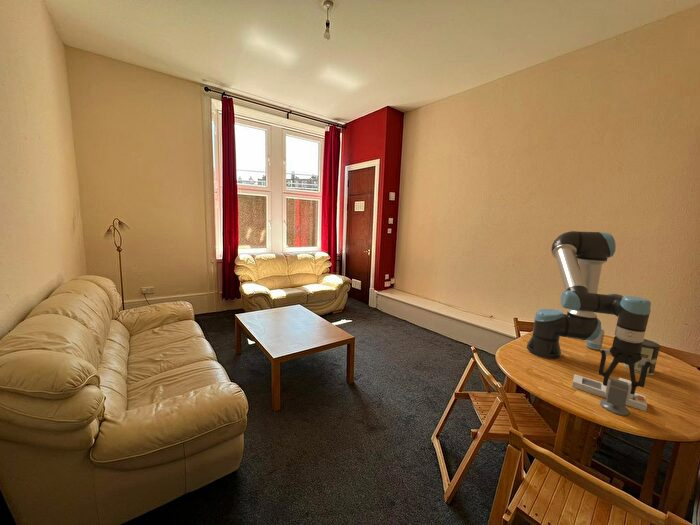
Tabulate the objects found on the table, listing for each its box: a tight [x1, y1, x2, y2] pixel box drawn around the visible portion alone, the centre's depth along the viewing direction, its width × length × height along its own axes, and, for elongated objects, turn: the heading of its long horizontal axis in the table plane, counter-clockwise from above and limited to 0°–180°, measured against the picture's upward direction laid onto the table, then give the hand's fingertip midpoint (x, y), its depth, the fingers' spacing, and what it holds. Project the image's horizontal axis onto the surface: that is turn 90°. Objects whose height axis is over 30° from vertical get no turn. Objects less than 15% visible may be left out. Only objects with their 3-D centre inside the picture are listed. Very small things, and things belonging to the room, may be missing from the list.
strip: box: [571, 373, 648, 412], centre depth 116 cm, size 22×9×3 cm, turn 49°
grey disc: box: [599, 398, 630, 417], centre depth 107 cm, size 8×8×1 cm
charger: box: [606, 377, 629, 408], centre depth 106 cm, size 5×5×8 cm
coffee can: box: [623, 338, 661, 376], centre depth 135 cm, size 10×10×14 cm
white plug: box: [618, 377, 633, 400], centre depth 112 cm, size 4×4×6 cm
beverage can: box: [584, 327, 606, 351], centre depth 157 cm, size 7×7×12 cm
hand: (616, 396), depth 106 cm, fingers closed on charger, 5 cm apart
